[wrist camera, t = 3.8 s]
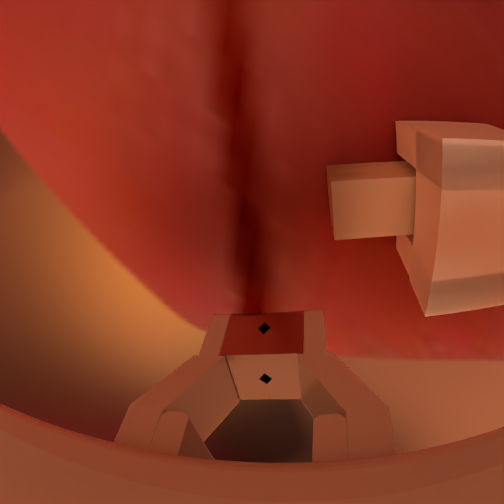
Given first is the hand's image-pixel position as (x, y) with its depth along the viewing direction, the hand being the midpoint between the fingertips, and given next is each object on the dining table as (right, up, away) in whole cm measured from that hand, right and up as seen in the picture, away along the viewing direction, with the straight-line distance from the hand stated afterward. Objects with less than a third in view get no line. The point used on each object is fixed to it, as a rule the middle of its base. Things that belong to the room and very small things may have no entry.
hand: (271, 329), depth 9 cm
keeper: (+10, +6, +7) cm, 14 cm away
